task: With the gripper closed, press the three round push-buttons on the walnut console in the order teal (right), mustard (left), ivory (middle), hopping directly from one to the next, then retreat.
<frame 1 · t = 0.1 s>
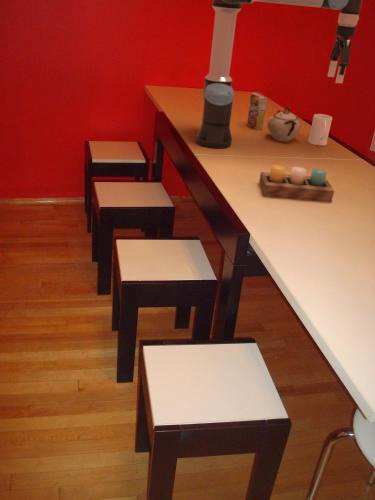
hand: (334, 79, 212), 28 cm above the table, fingers open, 13 cm apart
ivory button: (297, 176, 168), point 6 cm above the table, slide at 0.0 cm
console: (294, 192, 171), on the table
teal button: (317, 178, 168), point 6 cm above the table, slide at 0.0 cm
sugar bowl: (281, 139, 227), on the table
mug: (317, 144, 225), on the table
mustard button: (277, 174, 168), point 6 cm above the table, slide at 0.0 cm
candy box: (254, 127, 240), on the table
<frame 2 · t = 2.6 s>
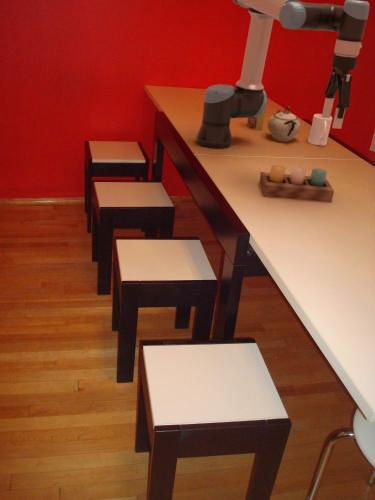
hand: (330, 122, 166), 23 cm above the table, fingers open, 13 cm apart
nothing on the table moved.
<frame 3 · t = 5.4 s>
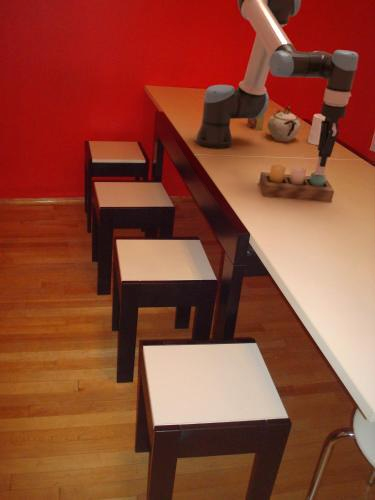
hand: (319, 174, 168), 7 cm above the table, fingers closed
teal button: (317, 181, 169), point 4 cm above the table, slide at -1.4 cm, touching gripper
everything else where it was.
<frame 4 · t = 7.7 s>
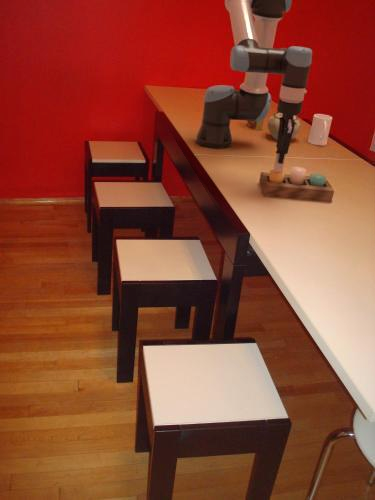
hand: (277, 171, 167), 7 cm above the table, fingers closed
teal button: (316, 183, 169), point 4 cm above the table, slide at -1.9 cm
mustard button: (276, 178, 169), point 4 cm above the table, slide at -1.6 cm, touching gripper
everything else where it was.
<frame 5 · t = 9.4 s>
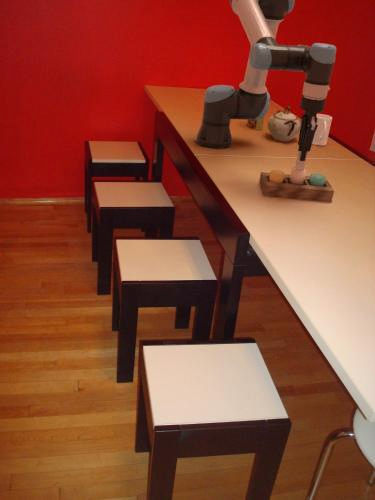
hand: (299, 169, 167), 8 cm above the table, fingers closed
ivory button: (297, 176, 168), point 6 cm above the table, slide at -0.1 cm, touching gripper
mustard button: (276, 179, 169), point 4 cm above the table, slide at -1.9 cm
everything else where it was.
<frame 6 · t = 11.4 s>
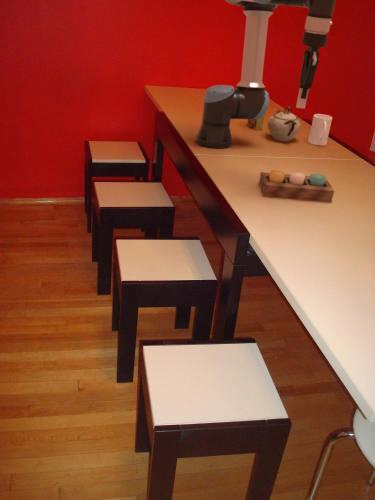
hand: (300, 107, 167), 26 cm above the table, fingers closed
ivory button: (296, 181, 169), point 4 cm above the table, slide at -1.9 cm
everything else where it was.
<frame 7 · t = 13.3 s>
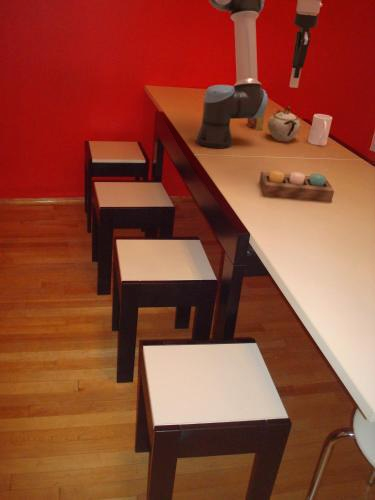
hand: (293, 86, 176), 30 cm above the table, fingers closed
nothing on the table moved.
at the end: teal button slide at -1.9 cm; mustard button slide at -1.9 cm; ivory button slide at -1.9 cm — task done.
